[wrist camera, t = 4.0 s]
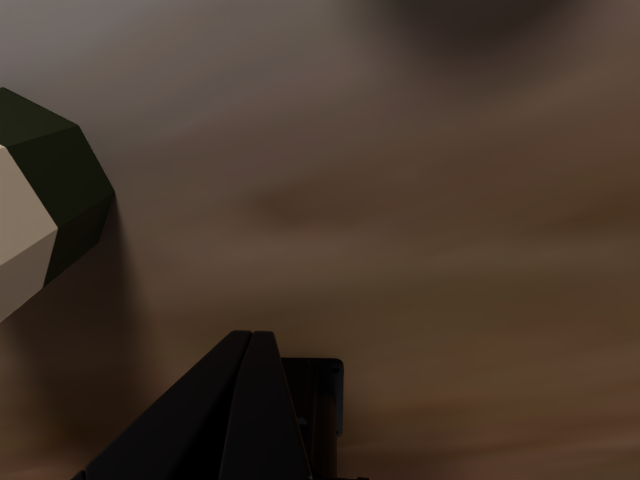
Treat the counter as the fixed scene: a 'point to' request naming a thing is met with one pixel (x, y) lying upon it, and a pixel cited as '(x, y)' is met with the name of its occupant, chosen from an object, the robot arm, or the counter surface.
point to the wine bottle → (44, 198)
